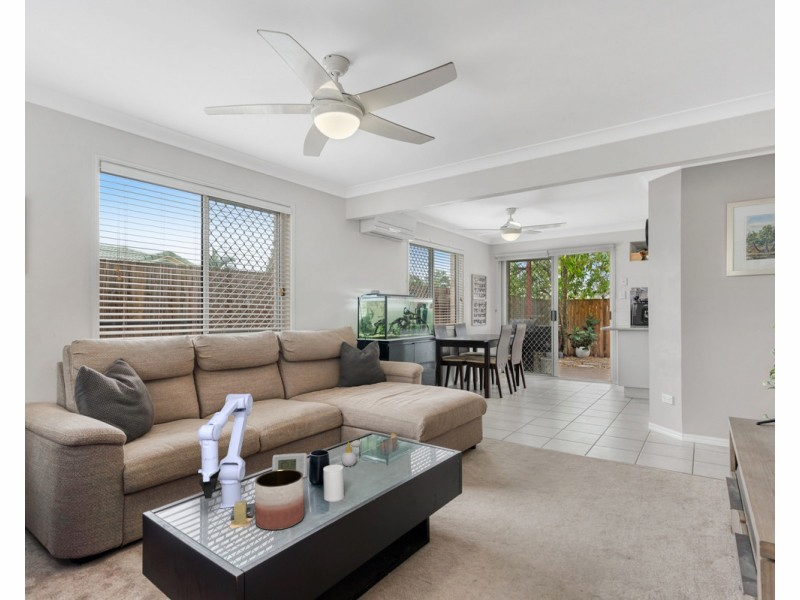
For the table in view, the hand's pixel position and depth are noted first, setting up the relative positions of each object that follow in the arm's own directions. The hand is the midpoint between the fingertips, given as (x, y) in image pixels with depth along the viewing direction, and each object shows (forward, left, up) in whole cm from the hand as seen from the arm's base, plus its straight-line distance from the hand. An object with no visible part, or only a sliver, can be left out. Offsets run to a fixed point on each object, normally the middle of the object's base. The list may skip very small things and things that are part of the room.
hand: (210, 494), depth 164 cm
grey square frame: (-3, +11, -10) cm, 16 cm away
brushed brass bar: (+5, +11, -10) cm, 15 cm away
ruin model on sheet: (-58, +79, -11) cm, 99 cm away
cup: (-9, +46, -11) cm, 48 cm away
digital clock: (-37, +28, -11) cm, 47 cm away
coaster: (+5, +11, -10) cm, 16 cm away
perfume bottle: (-45, +57, -11) cm, 73 cm away
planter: (+5, +25, -11) cm, 28 cm away
